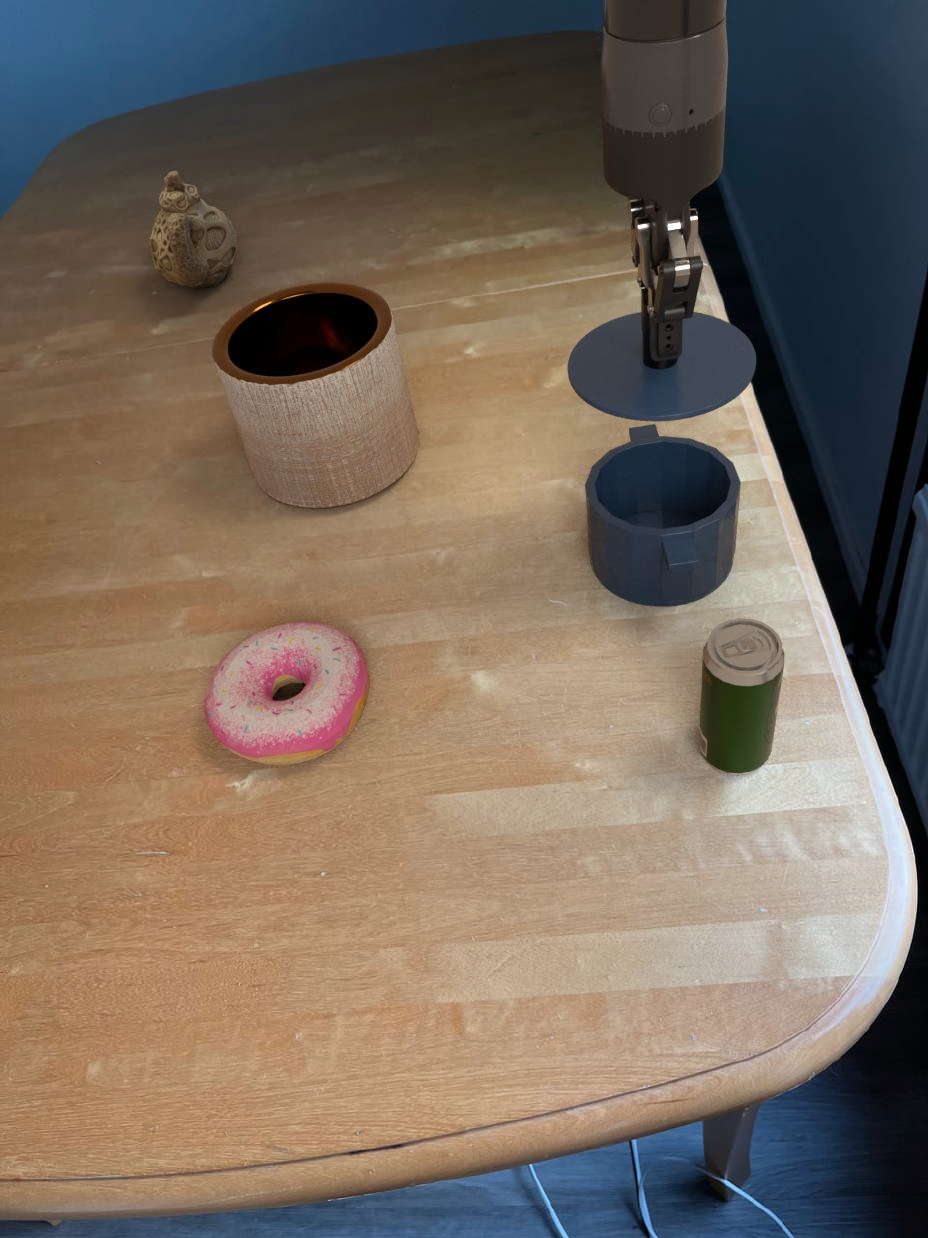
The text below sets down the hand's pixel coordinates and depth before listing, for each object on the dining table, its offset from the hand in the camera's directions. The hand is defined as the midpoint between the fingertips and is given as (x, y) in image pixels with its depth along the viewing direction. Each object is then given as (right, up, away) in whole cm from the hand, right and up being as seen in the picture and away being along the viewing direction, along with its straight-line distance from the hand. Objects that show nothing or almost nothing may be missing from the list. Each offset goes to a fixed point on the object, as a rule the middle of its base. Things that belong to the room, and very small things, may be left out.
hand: (661, 343), depth 75 cm
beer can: (+6, -30, +2) cm, 31 cm away
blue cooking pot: (+3, -15, +17) cm, 22 cm away
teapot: (-49, +25, +63) cm, 84 cm away
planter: (-28, -4, +33) cm, 43 cm away
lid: (0, -1, +1) cm, 2 cm away
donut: (-29, -28, +10) cm, 41 cm away
